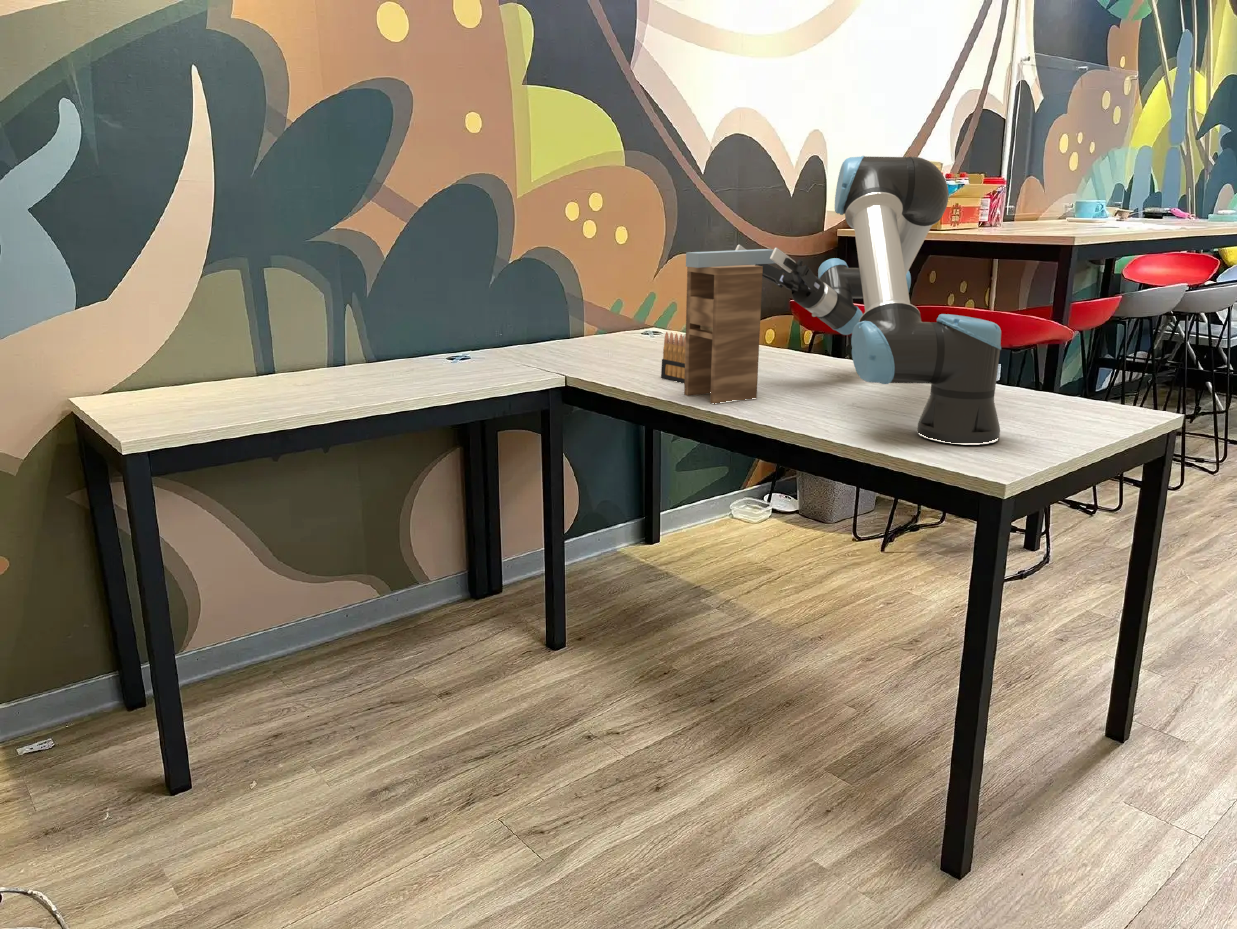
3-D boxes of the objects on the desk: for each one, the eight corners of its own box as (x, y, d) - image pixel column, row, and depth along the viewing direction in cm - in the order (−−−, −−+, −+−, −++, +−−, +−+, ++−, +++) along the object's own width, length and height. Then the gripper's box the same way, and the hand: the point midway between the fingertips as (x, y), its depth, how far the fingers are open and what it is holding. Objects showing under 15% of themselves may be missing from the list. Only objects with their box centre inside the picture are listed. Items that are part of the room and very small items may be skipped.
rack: (756, 398, 215) (763, 255, 205) (714, 404, 209) (719, 256, 200) (725, 389, 225) (730, 252, 215) (684, 394, 219) (687, 253, 210)
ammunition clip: (695, 384, 231) (696, 335, 228) (689, 384, 230) (690, 336, 227) (666, 377, 239) (667, 330, 236) (660, 378, 238) (661, 331, 235)
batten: (776, 263, 215) (776, 249, 214) (697, 267, 202) (698, 253, 201) (763, 262, 218) (764, 249, 218) (685, 266, 205) (686, 252, 204)
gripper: (842, 314, 213) (782, 270, 201) (773, 303, 234) (715, 262, 222) (857, 285, 213) (797, 238, 201) (786, 276, 234) (728, 234, 222)
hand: (754, 251), depth 212 cm, fingers open, 13 cm apart
